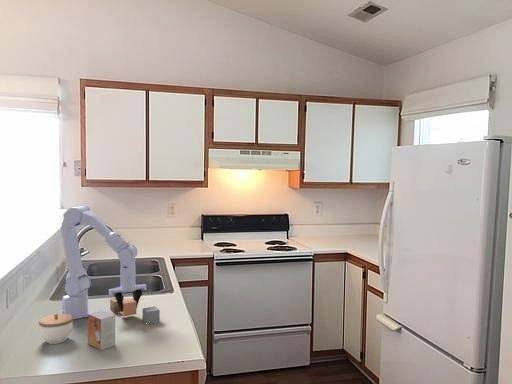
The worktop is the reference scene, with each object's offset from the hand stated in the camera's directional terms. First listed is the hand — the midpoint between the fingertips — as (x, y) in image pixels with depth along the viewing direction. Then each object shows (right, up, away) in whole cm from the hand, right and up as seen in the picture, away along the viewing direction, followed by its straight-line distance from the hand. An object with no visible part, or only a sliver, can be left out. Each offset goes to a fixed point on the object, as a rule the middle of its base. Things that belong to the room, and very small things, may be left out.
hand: (128, 309), depth 173 cm
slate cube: (+10, -4, -4) cm, 11 cm away
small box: (-1, -5, -26) cm, 27 cm away
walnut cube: (-6, -3, +8) cm, 11 cm away
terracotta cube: (0, -1, 0) cm, 1 cm away
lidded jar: (-18, -5, -23) cm, 30 cm away
